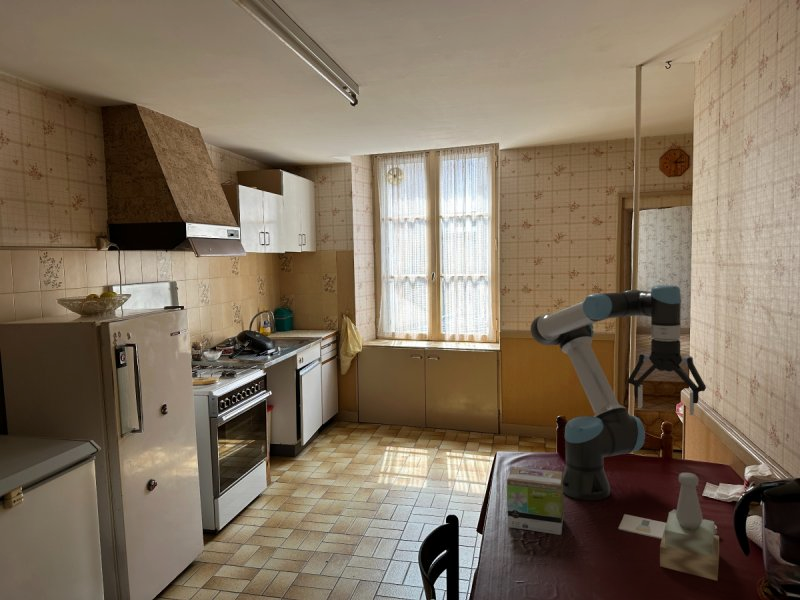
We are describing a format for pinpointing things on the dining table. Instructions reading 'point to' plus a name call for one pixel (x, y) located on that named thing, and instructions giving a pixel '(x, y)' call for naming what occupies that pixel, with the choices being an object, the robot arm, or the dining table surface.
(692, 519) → the salt shaker
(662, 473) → the dining table surface
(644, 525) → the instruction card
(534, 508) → the tea box
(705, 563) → the zigzag patterned box
